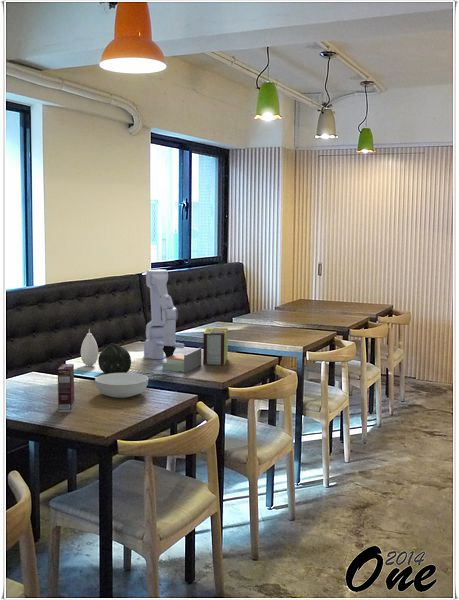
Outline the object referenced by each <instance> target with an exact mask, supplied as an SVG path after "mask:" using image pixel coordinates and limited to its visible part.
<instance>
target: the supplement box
mask: <svg viewBox="0 0 459 600" xmlns="http://www.w3.org/2000/svg"><path fill="white" fill-rule="evenodd" d="M74 370H75V369H74V363H62V364H60V366H59V367H58V368H57V397H58V398H57V403H58V404H57V405H58V409H57V410H58V413H71V412H72V411H73V409H74V407H75V403H76V402H75V371H74Z"/></svg>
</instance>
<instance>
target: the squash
mask: <svg viewBox="0 0 459 600" xmlns="http://www.w3.org/2000/svg"><path fill="white" fill-rule="evenodd" d="M97 363H98V366H99V369H100V371H102V372H103V375H105V374H111V373H129V371H130V369H131V366H132V359H131V355H130V352H129V351H128V350H127V349H125V348H124V347H122V345H119V344H117V343H113V342H111V343H109V344H108V345H107V346H106V347H105V348H104V349H103V350H102V351H101V352H100V353H99V354H98V359H97Z"/></svg>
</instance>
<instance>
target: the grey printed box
mask: <svg viewBox="0 0 459 600" xmlns="http://www.w3.org/2000/svg"><path fill="white" fill-rule="evenodd" d="M202 350H203V347H198V348H196V349H194V350H192V351H189V352H188V353H184V354H185V355H184V365H179V364H169V363H167V362H163V363H162V365H161V367H162V369H165V370H164V371H169V370H172V372H178V371H182V372H181V373H188V372H190V371H192V370H193V369H196V368H198V367H199V366H201V365H202ZM162 369H161V370H162Z"/></svg>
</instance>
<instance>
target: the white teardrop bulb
mask: <svg viewBox="0 0 459 600" xmlns="http://www.w3.org/2000/svg"><path fill="white" fill-rule="evenodd" d="M80 357H81V361H82V363H83V364H84V365H85V366H87V367H88V368H89V367H92V366H94V365H95V364H96V363H97V362H98V358H99V348H98V344H97V341H96V339H95V337H94V335H93V334H92V333H91V329H90V328H88V333H86V336H85V337H84V339H83V341H82V343H81V348H80Z"/></svg>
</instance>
